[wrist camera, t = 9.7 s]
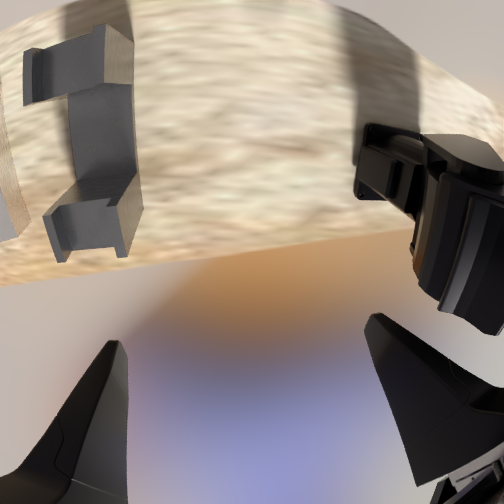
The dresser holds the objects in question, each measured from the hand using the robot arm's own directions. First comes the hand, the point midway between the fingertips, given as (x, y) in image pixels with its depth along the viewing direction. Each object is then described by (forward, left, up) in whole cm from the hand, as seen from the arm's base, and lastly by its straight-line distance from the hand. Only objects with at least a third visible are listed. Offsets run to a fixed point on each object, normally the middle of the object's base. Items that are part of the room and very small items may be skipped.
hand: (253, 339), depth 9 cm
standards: (+8, -5, -13) cm, 16 cm away
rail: (+18, -5, -13) cm, 23 cm away
